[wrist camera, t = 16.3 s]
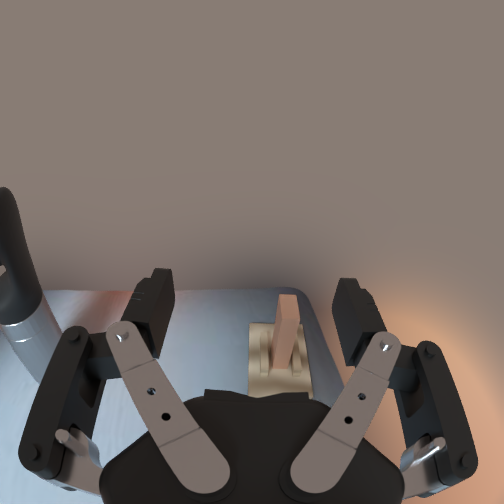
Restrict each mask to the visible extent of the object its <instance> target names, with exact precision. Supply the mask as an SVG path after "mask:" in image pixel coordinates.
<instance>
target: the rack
mask: <svg viewBox="0 0 504 504" xmlns="http://www.w3.org/2000/svg"><path fill="white" fill-rule="evenodd" d="M274 325H275V324H262V323H250V325H249V370H248V396H251V397H256V398H259V397H265V396H269V395H274V394H278V393H283V392H308V393H309V399H312V398H313V391H312V384H311V377H310V371H309V364H308V357H307V351H306V344H305V338H304V332H303V326H302V324H299V326H298V330H297V334H296V338H295V342H294V346H293V350H292V354H291V357H290V361H289V365H288V369H272V354H271V343H272V337H273V331H274Z"/></svg>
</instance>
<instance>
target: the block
mask: <svg viewBox="0 0 504 504" xmlns="http://www.w3.org/2000/svg"><path fill="white" fill-rule="evenodd" d="M299 322H300V315H299V309H298V303H297V298H296V295H283V294H279V300H278V306H277V312H276V319H275V325H274V331H273V337H272V343H271V354H272V369H288V365H289V361H290V357H291V354H292V350H293V346H294V342H295V338H296V334H297V330H298V326H299Z"/></svg>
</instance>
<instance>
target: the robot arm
mask: <svg viewBox="0 0 504 504" xmlns="http://www.w3.org/2000/svg"><path fill="white" fill-rule="evenodd" d="M1 265H4V266H5V268H6V272H4V273H3V274H2V275H1V276H0V329H1V331H2V332H3V334H4V335H5V337H6V339H7V340H8V342H9V343H10V345H11V346H12V348H13V350H14V352H15V353H16V355H17V356H18V358H19V359H20V360H21V362H22V363H23V364H24V366H25V367H26V369H27V370H28V371H29V373H30V374H31V375H32V376H33V378H34V379H35V380H36V381H37V382H38V383H39V384H40V386H39V388H38V391H37V393H36V396H35V399H34V402H33V404H32V407H31V410H30V413H29V416H28V419H27V422H26V425H25V428H24V431H23V435H22V438H21V441H20V445H19V449H18V456H19V459H20V462H21V464H22V465H23V466H24V467H25V468H26V469H27V470H29V471H31V472H32V473H34V474H36V475H37V476H38V477H40V478H42V479H43V480H45V481H47V482H49V483H51V484H53V485H55V486H58V487H61V488H63V489H65V490H68V491H75V490H79V491H82V492H85V493H89V494H92V495H95V496H99V497H101V498H102V500H103V503H104V504H401V502H402V500H404V499H407V498H411V497H414V496H419V497H422V498H426V497H429V496H431V495H434V494H436V493H438V492H441V491H443V490H445V489H447V488H449V487H451V486H453V485H455V484H458V483H459V482H461V481H463V480H465V479H467V478H469V477H471V476H472V475H473V474H474V473H475V471H476V469H477V466H478V457H477V453H476V449H475V445H474V441H473V438H472V434H471V431H470V427H469V424H468V421H467V418H466V415H465V411H464V409H463V406H462V403H461V400H460V397H459V394H458V391H457V389H456V386H455V383H454V381H453V378H452V375H451V373H450V370H449V368H448V365H447V363H446V361H445V358H444V356H443V353H442V351H441V349H440V348H439V347H438V346H437V345H436V344H435V343H433V342H431V341H422V342H420V343H419V344H418V346H417V347H416V348H415V347H410V346H405V345H401V343H400V341H399V339H398V338H397V337H396V336H395V335H393V334H391V333H389V332H387V329H386V327H385V325H384V322H383V320H382V318H381V315H380V313H379V311H378V308H377V306H376V305H375V302H374V299H373V297H372V296H371V294H369V292H368V291H367V290H366V289H361V288H360V286H359V284H358V281H357V280H356V279H355V278H340V280H339V282H338V286H337V289H336V293H335V296H334V299H333V304H332V314H333V317H334V321H335V325H336V329H337V332H338V336H339V340H340V344H341V347H342V351H343V355H344V359H345V363H346V366H355V371H354V372H353V374H352V376H351V378H350V379H349V381H348V383H347V384H346V386H345V388H344V389H343V391H342V392H341V394H340V396H339V397H338V399H337V400H336V402H335V404H334V405H333V407H332V408H330V407H329V406H327V405H325V404H323V403H321V402H319V401H316V400H312V399H309V393H308V392H283V393H278V394H274V395H269V396H265V397H259V398H256V397H251V396H247V395H243V394H240V393H236V392H232V391H223V390H210V389H205V392H204V396H200V397H196V398H192V399H190V400H187V401H185V402H182V401H181V399H180V398H179V396H178V395H177V393H176V391H175V390H174V388H173V387H172V385H171V383H170V382H169V380H168V379H167V377H166V375H165V374H164V372H163V370H162V369H161V367H160V365H159V364H158V362H157V360H156V359H153V358H157V359H159V356H160V353H161V349H162V346H163V342H164V339H165V335H166V332H167V328H168V325H169V321H170V318H171V315H172V311H173V308H174V304H175V292H174V284H173V277H172V271H171V269H163V268H155V269H154V272H153V274H152V276H151V278H144V279H143V280H141V281H140V282H139V283H138V284H137V286H136V288H135V290H134V293H133V294H132V296H131V299H130V300H129V303H128V305H127V307H126V309H125V311H124V313H123V316H122V318H121V320H120V321H119V322H116V323H114V324H112V325H111V326H110V327H109V328H108V330H107V332H104V333H96V334H89V333H88V331H87V330H86V329H85V328H84V327H81V326H73V327H70V328H68V329H67V330H65V331H64V333H62V331H61V329H60V327H59V325H58V323H57V321H56V319H55V317H54V315H53V313H52V311H51V309H50V306H49V304H48V302H47V300H46V298H45V295H44V293H43V291H42V289H41V286H40V284H39V281H38V278H37V275H36V272H35V269H34V265H33V262H32V259H31V257H30V254H29V251H28V247H27V244H26V240H25V236H24V232H23V227H22V223H21V219H20V214H19V210H18V207H17V204H16V201H15V198H14V196H13V194H12V193H11V191H10V190H9V189H8V188H6V187H1V188H0V266H1ZM114 378H123V381H124V383H125V385H126V387H127V389H128V391H129V394H130V396H131V398H132V400H133V402H134V404H135V406H136V408H137V410H138V412H139V414H140V415H141V417H142V419H143V421H144V423H145V425H146V427H147V428H148V431H147V432H146V433H145V434H143V435H142V436H141V437H140V438H139V439H137V440H136V441H135V442H134V443H132V444H131V445H130V446H129V447H127V448H126V449H125V450H123V451H122V452H121V453H120V454H118V455H117V456H116V457H114V458H113V459H112V460H111V461H109V462H108V463H107V464H106V465H105V467H104V468H102V466H101V464H100V460H99V450H98V447H97V446H96V444H95V443H94V442H93V441H92V440H91V439H92V435H93V430H94V426H95V422H96V418H97V414H98V410H99V406H100V402H101V398H102V395H103V391H104V387H105V384H106V380H107V379H114ZM387 388H390V389H393V390H394V394H395V398H396V402H397V406H398V411H399V415H400V419H401V424H402V429H403V433H404V439H405V444H406V450H405V451H404V452H403V454H402V456H401V464H400V469H399V468H398V467H397V466H396V465H395V464H393V463H392V462H391V461H390V460H389V459H388V458H387V457H385V456H384V455H383V454H382V453H381V452H379V451H378V450H377V449H376V448H375V447H374V446H373V445H371V444H370V443H369V442H368V441H367V440H366V439H365V438H364V437H363V436H364V434H365V432H366V430H367V429H368V427H369V425H370V423H371V420H372V419H373V417H374V415H375V413H376V411H377V409H378V407H379V405H380V403H381V400H382V398H383V396H384V394H385V392H386V389H387Z"/></svg>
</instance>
